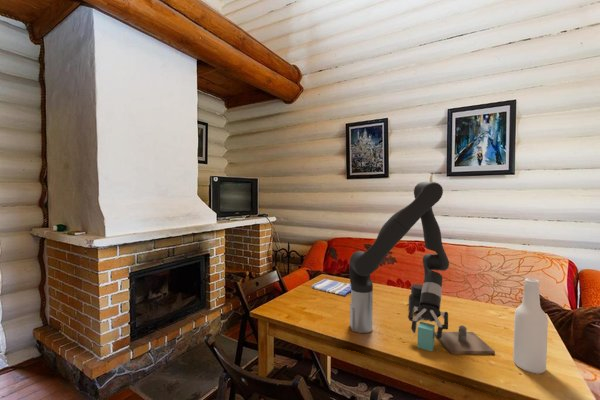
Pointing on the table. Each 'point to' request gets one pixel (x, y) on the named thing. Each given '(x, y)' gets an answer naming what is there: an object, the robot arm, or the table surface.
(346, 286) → the dish towel
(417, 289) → the ink bottle
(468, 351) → the post board
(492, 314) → the table surface
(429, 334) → the tall teal pillar
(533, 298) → the alcohol
